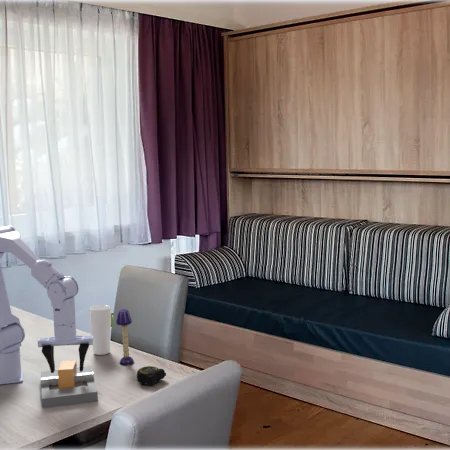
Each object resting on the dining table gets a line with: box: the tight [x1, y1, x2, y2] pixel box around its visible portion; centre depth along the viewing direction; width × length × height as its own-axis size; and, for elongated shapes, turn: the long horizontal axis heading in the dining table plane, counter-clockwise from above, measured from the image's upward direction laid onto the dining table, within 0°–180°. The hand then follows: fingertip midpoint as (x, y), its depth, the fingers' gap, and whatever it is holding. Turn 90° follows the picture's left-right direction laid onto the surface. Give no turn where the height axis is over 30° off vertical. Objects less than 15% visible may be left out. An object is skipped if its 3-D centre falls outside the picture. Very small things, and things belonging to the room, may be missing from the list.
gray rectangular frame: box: [40, 365, 99, 409], centre depth 175 cm, size 14×20×2 cm
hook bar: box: [40, 371, 95, 386], centre depth 175 cm, size 14×2×2 cm, turn 107°
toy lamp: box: [116, 308, 135, 366], centre depth 195 cm, size 5×5×17 cm
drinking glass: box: [88, 304, 112, 356], centre depth 204 cm, size 7×7×15 cm
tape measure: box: [136, 365, 167, 386], centre depth 180 cm, size 7×7×4 cm
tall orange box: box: [57, 359, 78, 389], centre depth 175 cm, size 4×7×6 cm, turn 6°
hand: (67, 370), depth 175 cm, fingers open, 7 cm apart
